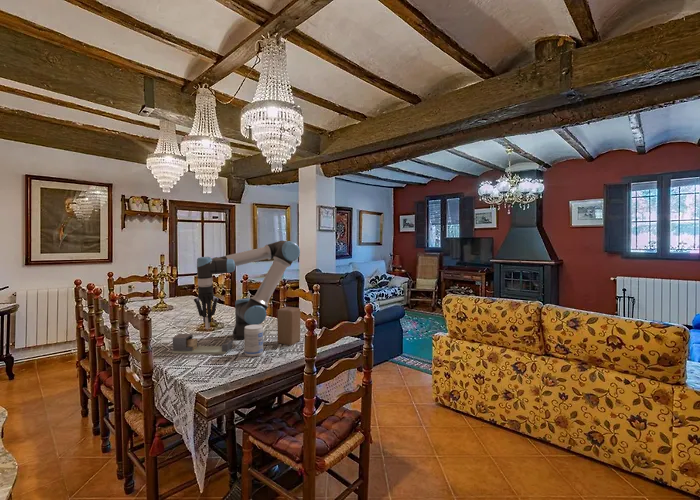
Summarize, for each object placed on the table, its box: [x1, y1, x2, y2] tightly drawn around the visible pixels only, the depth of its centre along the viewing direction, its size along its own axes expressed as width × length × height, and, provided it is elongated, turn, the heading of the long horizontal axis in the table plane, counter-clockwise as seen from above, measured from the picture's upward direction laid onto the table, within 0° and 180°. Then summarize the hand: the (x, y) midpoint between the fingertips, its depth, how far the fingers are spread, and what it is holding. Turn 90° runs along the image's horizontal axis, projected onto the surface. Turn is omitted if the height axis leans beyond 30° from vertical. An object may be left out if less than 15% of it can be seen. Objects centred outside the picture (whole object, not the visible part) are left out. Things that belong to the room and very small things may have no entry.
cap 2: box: [221, 339, 233, 353], centre depth 193 cm, size 3×8×4 cm, turn 0°
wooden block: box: [276, 306, 301, 346], centre depth 209 cm, size 10×10×20 cm
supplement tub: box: [243, 324, 264, 358], centre depth 189 cm, size 10×10×15 cm
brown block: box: [187, 338, 198, 350], centre depth 193 cm, size 8×4×5 cm, turn 90°
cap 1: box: [172, 333, 199, 351], centre depth 193 cm, size 10×8×7 cm
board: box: [171, 345, 228, 355], centre depth 194 cm, size 28×9×1 cm, turn 90°
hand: (207, 328), depth 196 cm, fingers closed
